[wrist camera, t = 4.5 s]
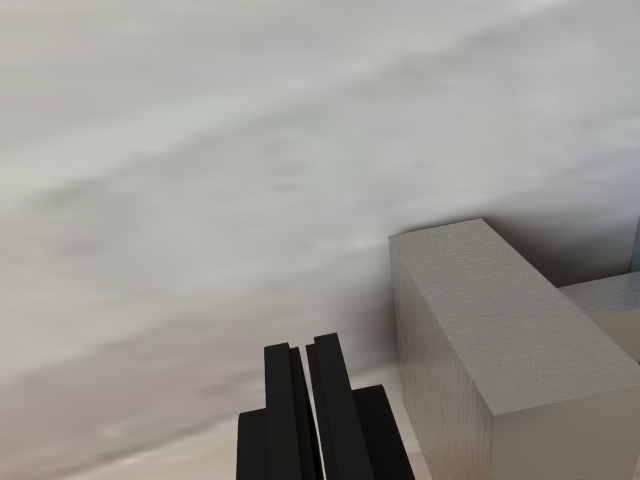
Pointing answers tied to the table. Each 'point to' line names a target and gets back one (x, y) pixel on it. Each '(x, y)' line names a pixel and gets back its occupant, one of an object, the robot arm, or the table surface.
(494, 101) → the table surface
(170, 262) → the table surface
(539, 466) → the plug block
